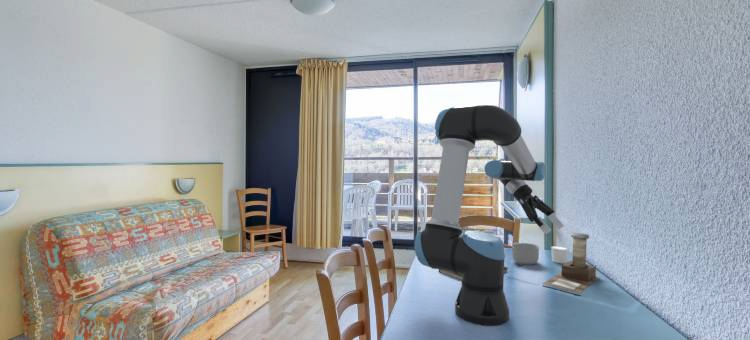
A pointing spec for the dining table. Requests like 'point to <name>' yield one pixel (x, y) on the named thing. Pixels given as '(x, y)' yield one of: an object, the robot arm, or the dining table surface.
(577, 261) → the capped plug
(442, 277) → the dining table surface
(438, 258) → the robot arm
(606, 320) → the dining table surface
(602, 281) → the dining table surface
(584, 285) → the socket board
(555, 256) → the short white cylinder
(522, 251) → the teacup
